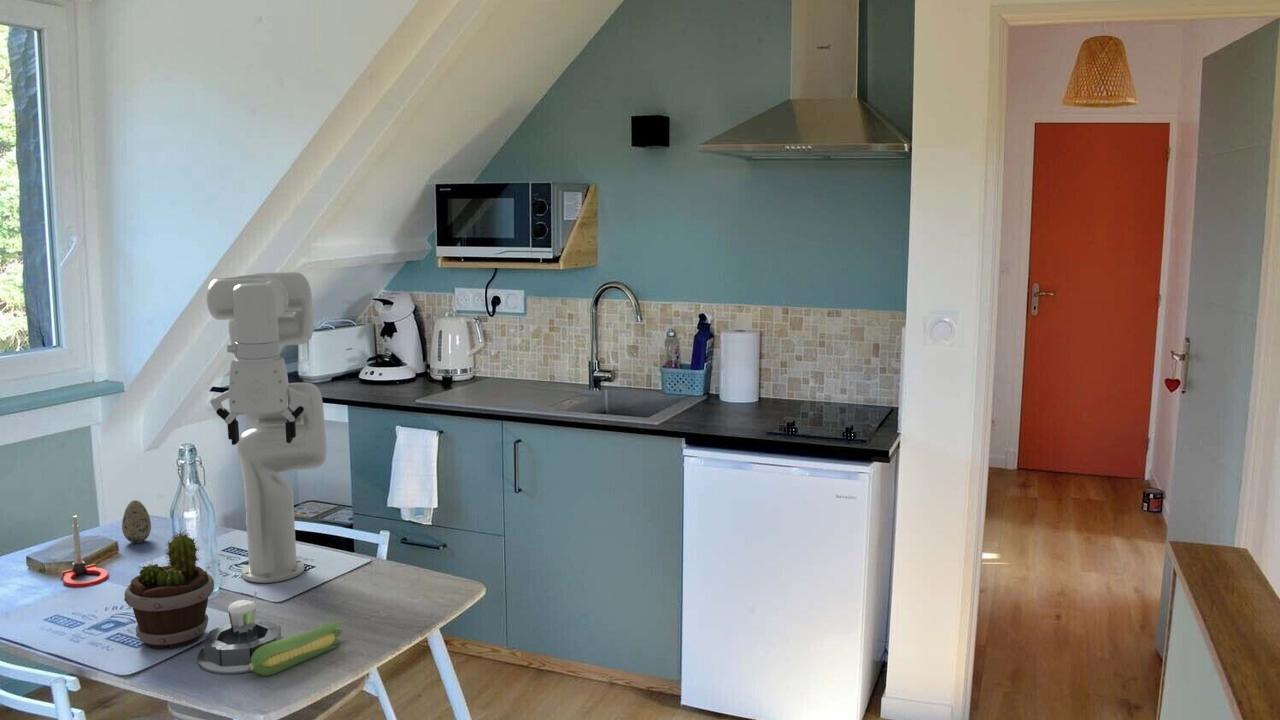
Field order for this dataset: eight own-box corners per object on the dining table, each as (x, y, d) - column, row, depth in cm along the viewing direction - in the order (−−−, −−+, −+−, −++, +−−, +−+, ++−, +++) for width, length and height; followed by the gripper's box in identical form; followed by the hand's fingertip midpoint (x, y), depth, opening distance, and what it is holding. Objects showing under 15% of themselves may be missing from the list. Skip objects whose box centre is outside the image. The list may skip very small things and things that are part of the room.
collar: (209, 639, 191) (208, 619, 190) (295, 634, 193) (294, 614, 193) (187, 677, 177) (186, 655, 176) (281, 671, 179) (279, 650, 178)
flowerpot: (166, 663, 182) (158, 552, 178) (110, 644, 189) (101, 537, 186) (235, 632, 194) (229, 528, 191) (180, 615, 202) (173, 515, 198)
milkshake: (267, 647, 186) (264, 594, 184) (241, 659, 182) (238, 604, 180) (251, 641, 188) (248, 588, 187) (225, 652, 184) (221, 598, 182)
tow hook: (114, 581, 219) (99, 568, 226) (110, 523, 217) (94, 510, 223) (71, 592, 214) (56, 578, 220) (66, 532, 211) (51, 519, 217)
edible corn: (239, 651, 177) (254, 651, 174) (338, 616, 193) (353, 615, 190) (245, 682, 177) (260, 682, 174) (344, 644, 193) (359, 644, 190)
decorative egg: (157, 538, 244) (154, 497, 243) (142, 547, 238) (139, 504, 237) (133, 537, 245) (130, 496, 243) (117, 546, 239) (114, 503, 238)
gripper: (202, 355, 187) (208, 448, 190) (303, 353, 190) (308, 445, 193) (212, 348, 195) (218, 439, 197) (309, 347, 197) (314, 436, 200)
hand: (262, 442), depth 195 cm, fingers open, 9 cm apart
